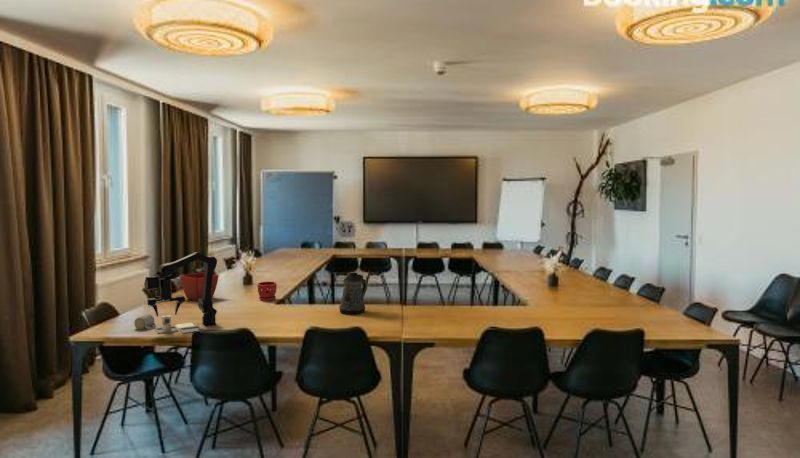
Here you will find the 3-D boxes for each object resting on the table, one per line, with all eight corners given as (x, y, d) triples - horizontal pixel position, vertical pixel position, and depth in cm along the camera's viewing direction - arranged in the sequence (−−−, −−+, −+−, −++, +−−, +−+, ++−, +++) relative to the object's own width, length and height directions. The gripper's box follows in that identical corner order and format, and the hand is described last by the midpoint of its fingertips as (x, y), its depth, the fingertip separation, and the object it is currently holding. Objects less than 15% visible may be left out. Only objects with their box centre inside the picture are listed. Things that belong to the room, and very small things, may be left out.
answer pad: (191, 323, 313) (191, 322, 313) (194, 327, 306) (194, 326, 306) (175, 325, 309) (175, 324, 309) (177, 329, 301) (177, 328, 301)
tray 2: (199, 328, 304) (198, 325, 304) (202, 332, 295) (202, 330, 295) (179, 330, 298) (179, 328, 298) (182, 334, 290) (182, 332, 290)
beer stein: (335, 314, 338) (335, 274, 336) (345, 307, 357) (345, 270, 355) (360, 315, 334) (360, 276, 332) (369, 309, 353) (369, 271, 351)
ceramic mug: (133, 329, 300) (133, 316, 299) (143, 326, 307) (143, 312, 307) (149, 331, 297) (149, 317, 296) (159, 327, 305) (159, 314, 304)
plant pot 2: (257, 298, 386) (256, 281, 385) (275, 297, 390) (275, 281, 389) (258, 302, 373) (257, 285, 373) (277, 301, 377) (277, 284, 376)
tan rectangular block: (170, 329, 299) (169, 315, 298) (171, 330, 296) (170, 316, 295) (162, 330, 297) (161, 315, 296) (163, 331, 293) (163, 317, 293)
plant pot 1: (219, 297, 388) (219, 274, 387) (197, 302, 372) (196, 278, 370) (202, 294, 398) (201, 272, 397) (179, 299, 382) (179, 275, 381)
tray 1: (175, 328, 303) (175, 326, 303) (178, 332, 295) (178, 330, 295) (155, 330, 298) (155, 328, 298) (158, 334, 289) (157, 332, 289)
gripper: (181, 283, 306) (182, 310, 307) (145, 286, 297) (146, 314, 298) (184, 286, 297) (185, 314, 298) (147, 290, 287) (148, 319, 288)
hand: (166, 315), depth 296 cm, fingers open, 9 cm apart
